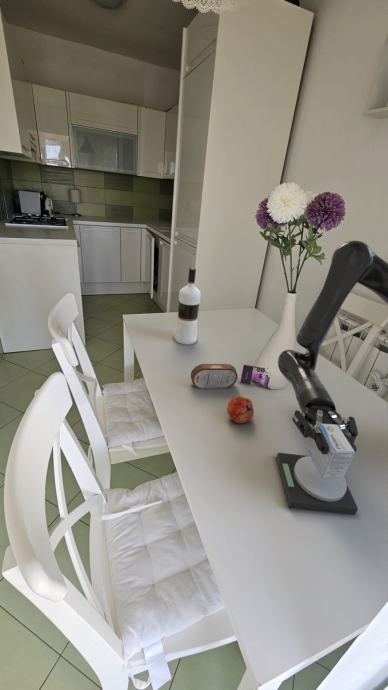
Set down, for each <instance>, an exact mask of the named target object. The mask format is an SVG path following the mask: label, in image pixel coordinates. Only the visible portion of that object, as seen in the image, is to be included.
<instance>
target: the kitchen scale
mask: <svg viewBox="0 0 388 690" xmlns="http://www.w3.org/2000/svg"><path fill="white" fill-rule="evenodd" d="M275 461H276V465H277V469H278V473H279V477H280V481H281V484H282V488H283V489H282V490H283V492H284V497H285V500H286V505H287V508H288V509H296V510H304V511H312V512H313V511H314V512H323V513H333V514H341V515H350V516H351V515H352V516H355V515H356V514H357V512H358V511H359V508H358V506H357V503H356V501H355V498H354V497H353V495H352V493H351V490H350V488H349V486H348V484H347V480H346V478H345V476H344V477H343V479H342V481H322V480H321V477H320V475H319V473H318V471H317V469H316V467H315V465H314V463H313V461H312V459H311V457H310V455H306V454H305V455H304V454H296V453H295V454H294V453H286V452H277V453H276V457H275Z"/></svg>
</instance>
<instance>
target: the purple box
mask: <svg viewBox="0 0 388 690" xmlns="http://www.w3.org/2000/svg"><path fill="white" fill-rule="evenodd" d="M254 369H255V370H256V372H254ZM253 372H254V373H253ZM261 373H262V374H261ZM263 373H265V375H264V374H263ZM266 373H267V374H269V371H268V370H267V371H266V370H265V367H260V366H255V365H249V364H243V365H242V372H241V375H240V376H241V377H240V384H245V385H246V384H247V385H251V382H252V381H253V382H255V383H260V382H262V381H263V380H264V382H263V384H262V386H261V387H262V388H267V389H268V386H269V382H270V379H269V380H268V375H266ZM262 375H263V376H262ZM264 376H265V377H264Z"/></svg>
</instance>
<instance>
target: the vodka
mask: <svg viewBox="0 0 388 690" xmlns="http://www.w3.org/2000/svg"><path fill="white" fill-rule="evenodd" d="M196 272H197V269H196V268H195V267H189V269H188V277H187V285H185V286H183V287H182V288H180V289H179V292H178V307H177V317H176V320H177V321H176V327H175V332H174V337H173V338H174V341H175V342H177V343H178V344H180V345H181V344H182V345H193V344H195V343H197V340H198V334H197V328H198V322H199V309H200V303H201V297H202V293H201V290H200V289H199V288H198V287H196V286H195V283H196Z"/></svg>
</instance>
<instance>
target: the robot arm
mask: <svg viewBox="0 0 388 690" xmlns="http://www.w3.org/2000/svg"><path fill="white" fill-rule="evenodd" d="M330 261H331V263H330V266H329V269H328V273H327V276H326V278H325V281H324V283H323V286H322V288H321V289H320V292H319V294H318V296H317V297H316V300H315V302H314V304H313V305H312V307H311V308H310V310H309V311H308V314H307V315H306V318H305V319H304V321H303V322H302V325H301V326H300V329H299V331H298V333H297V335H296V337H295V342H296V343H297V344H298V345H299V346H300V347H302V348H303V349H305V352H304V353H303V352H300V351H297V350H294V349H284V350H283V351H282V352H280V354H279V356H278V358H277V366H278V369H279V372H280V373H281V374H282V376H283V377H284V378H285V379H286V380H287V381H288V382H289V383H290V384H291V386H292V389H293V391H294V395H295V398H296V401H297V404H298V406H299V409H300V410H297V409H296V410H294V412H293V416H292V422H293V424H294V425H295V426H296V428H297V429H298V430H299V432H300V434H301V435H302V437H304V438H306V439H308V438H311V439H313V440H314V441H315V443H316V446H317V448H318V450H319V451H321V453H322V454H327V452H328V449H329V446H328V444H327V441H326V439H325V437H324V435H323V434H321V428H320V426H319V425H322V424H334V425H338V426H339V428H340V429H341V431H342V433H343V434H344V436H345V437H346V439H347V440H348V442H349V444H350V445H351V447H352V448H353V450H354V451H355V453H356V452H357V446H356V444H355V442H356V439H357V437H358V435H359V431H358V426H357V423H356V418H354V417H353V416H348V418H347V417H344V416H343V417H342V415H341V414H340V413H339V412H337V408H336V404H335V402H334V400H333V398H332V396H331V395H330V394H329V392H328V389H327V388H326V386H325V384H323V382H321V380H320V378H319V376H318V375H317V373H316V371H315V370H316V367H317V362H318V358H319V354H320V350H321V346H322V345H323V343H324V341H325V339H326V337H327V336H328V333H329V332H330V330H331V328H332V326H333V324H334V322H335V320H336V318H337V316H338V314H339V312H340V310H341V308H342V307H343V304H344V303H345V301H346V299H347V298H348V297H349V294H350V293H351V291H352V290H353V289H354V287H355V286H356V285H357V284H358V285H360V286H363V287H365V288H366V289H367V290H369V291H371V292H372V293H374V294H375V295H377V296H378V297H379V298H380V299H381V300H382V301H383V302H385V304H387V305H388V262H387V261H385V260H384V259H383V258H382V257H381V256H379V255H378V254H377V253H375V252H374V251H373V250H372V249H371V247H370V246H369V245H368V244H367V243H366V242H364V241H362V240H357V239H356V240H355V239H353V240H349V241H345V242H343V243H342V244H340V245H338V246H337V248H336V249H335V250H334V252H333V253H332V256H331V260H330Z"/></svg>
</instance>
